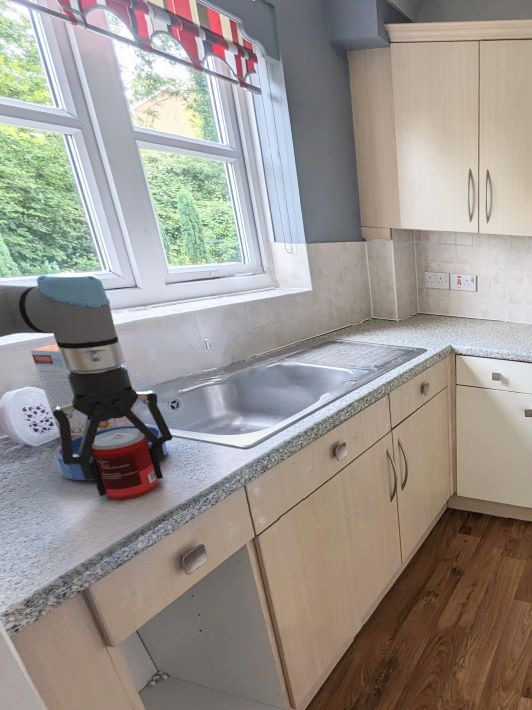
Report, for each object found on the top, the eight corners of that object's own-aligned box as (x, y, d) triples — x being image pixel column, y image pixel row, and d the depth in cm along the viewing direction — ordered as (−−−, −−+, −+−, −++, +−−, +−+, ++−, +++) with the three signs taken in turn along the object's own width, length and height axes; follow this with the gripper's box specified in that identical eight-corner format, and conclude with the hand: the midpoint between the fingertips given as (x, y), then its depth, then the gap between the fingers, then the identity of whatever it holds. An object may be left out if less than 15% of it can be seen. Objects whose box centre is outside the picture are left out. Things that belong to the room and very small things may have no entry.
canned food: (147, 474, 90) (133, 424, 87) (166, 487, 87) (152, 435, 83) (98, 491, 84) (80, 438, 80) (116, 505, 80) (98, 450, 77)
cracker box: (142, 431, 108) (118, 346, 101) (119, 442, 102) (93, 352, 95) (84, 427, 108) (56, 342, 101) (59, 438, 103) (27, 349, 95)
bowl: (54, 492, 83) (46, 468, 81) (69, 456, 96) (62, 435, 94) (168, 469, 93) (162, 447, 91) (168, 439, 105) (163, 419, 103)
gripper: (8, 385, 67) (56, 514, 75) (176, 362, 82) (201, 472, 90) (6, 374, 72) (52, 497, 80) (165, 353, 87) (190, 459, 95)
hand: (131, 483), depth 85 cm, fingers closed on canned food, 8 cm apart
